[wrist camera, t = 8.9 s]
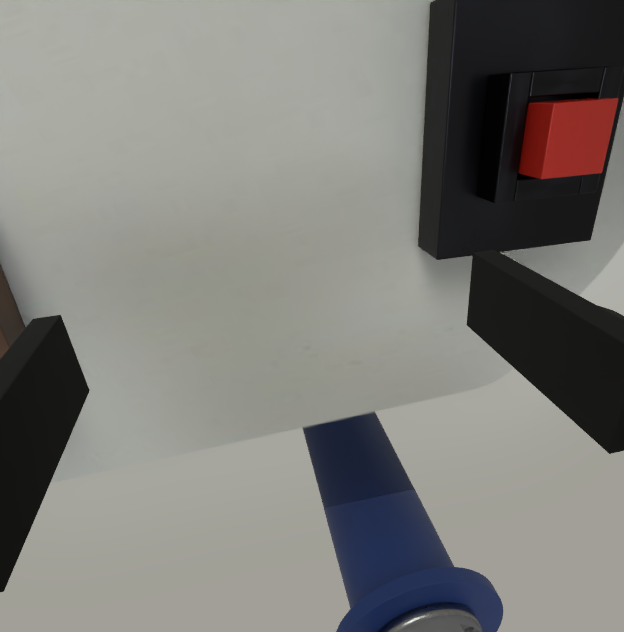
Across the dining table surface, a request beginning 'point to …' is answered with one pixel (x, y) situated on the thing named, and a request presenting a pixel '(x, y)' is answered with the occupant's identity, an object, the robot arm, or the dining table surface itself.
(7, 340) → the dial panel
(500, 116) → the switch base
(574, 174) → the button
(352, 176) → the dining table surface
